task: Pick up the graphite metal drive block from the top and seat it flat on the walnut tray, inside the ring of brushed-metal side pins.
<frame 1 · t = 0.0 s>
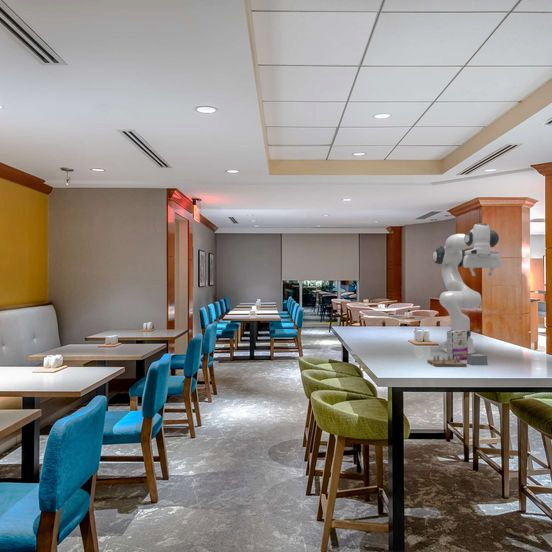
hand: (481, 275, 266), 48 cm above the table, tool pointing down, fingers open, 8 cm apart
pin tray: (446, 364, 253), on the table
candy bar box: (457, 359, 271), on the table
drive block: (477, 364, 254), on the table
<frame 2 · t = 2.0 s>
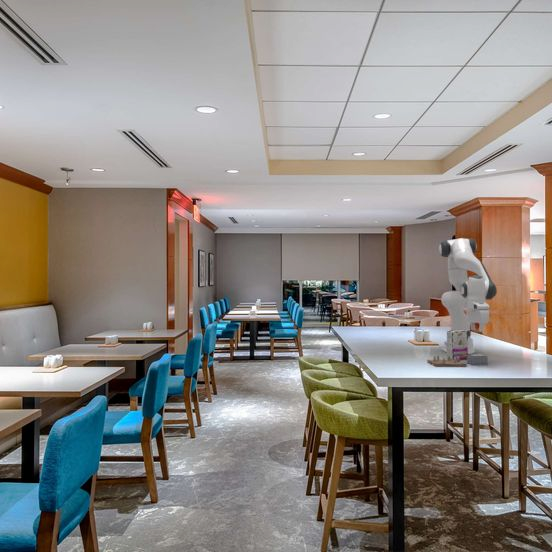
hand: (477, 331, 254), 18 cm above the table, tool pointing down, fingers open, 8 cm apart
nothing on the table moved.
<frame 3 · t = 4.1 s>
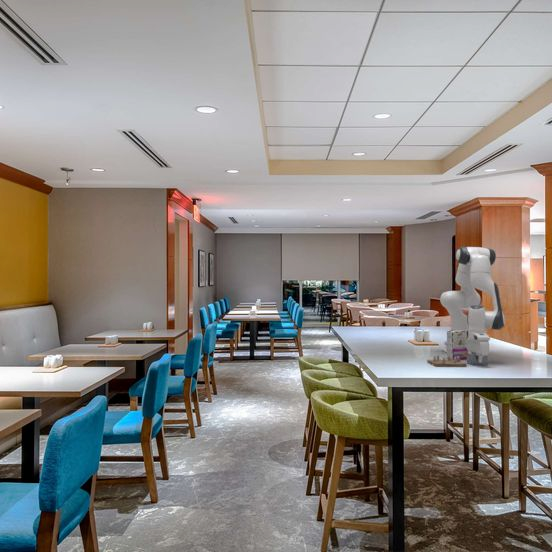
hand: (477, 361, 254), 2 cm above the table, tool pointing down, fingers closed on drive block, 5 cm apart
drive block: (477, 364, 254), on the table, touching gripper
everything else where it was.
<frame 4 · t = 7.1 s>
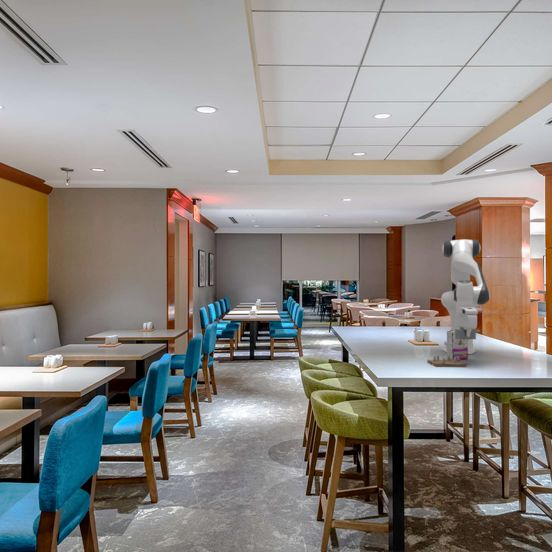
hand: (465, 335, 253), 15 cm above the table, tool pointing down, fingers closed on drive block, 5 cm apart
drive block: (465, 338, 253), point 14 cm above the table, touching gripper
everything else where it was.
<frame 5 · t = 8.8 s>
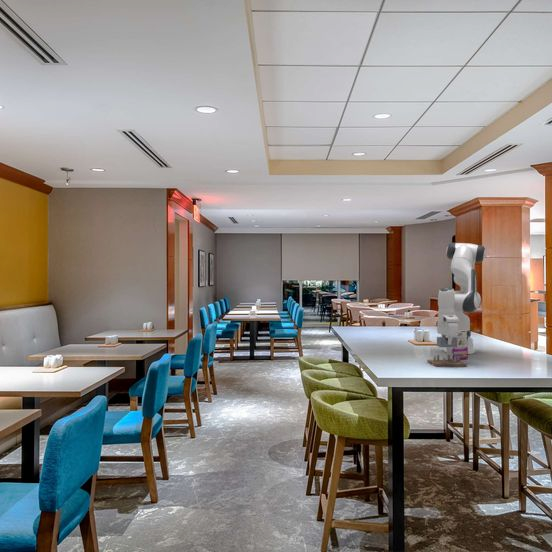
hand: (446, 343, 253), 11 cm above the table, tool pointing down, fingers closed on drive block, 5 cm apart
drive block: (446, 346, 253), point 10 cm above the table, touching gripper
everything else where it was.
when the fingers open (5 cm above the table, at t = 10.3 s): drive block drops 1 cm, resting on pin tray.
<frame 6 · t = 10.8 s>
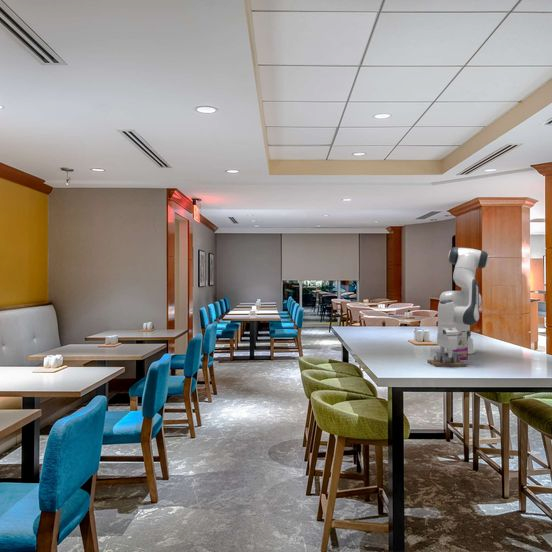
hand: (446, 356, 253), 5 cm above the table, tool pointing down, fingers open, 8 cm apart
drive block: (446, 361, 253), point 1 cm above the table, touching pin tray
everything else where it was.
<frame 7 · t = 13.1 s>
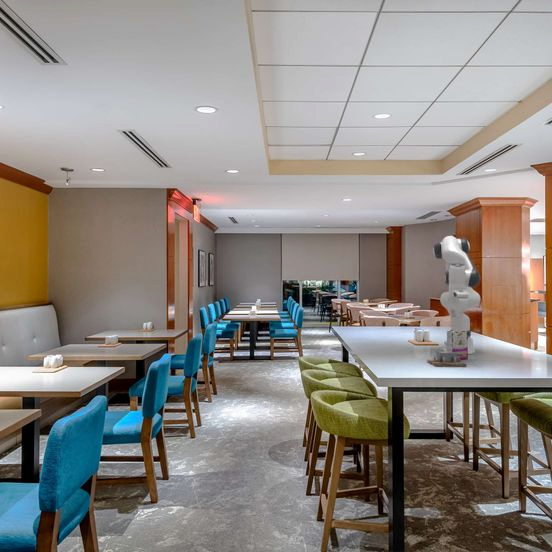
hand: (456, 318, 257), 25 cm above the table, tool pointing down, fingers open, 8 cm apart
nothing on the table moved.
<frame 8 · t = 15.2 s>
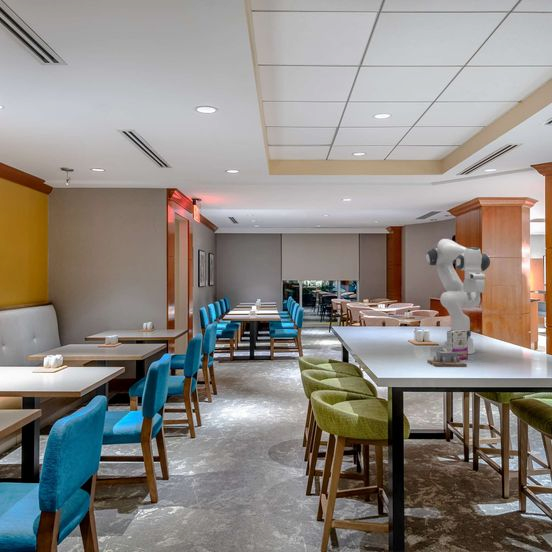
hand: (473, 300, 263), 34 cm above the table, tool pointing down, fingers open, 8 cm apart
nothing on the table moved.
at the end: drive block 0.1 cm off-centre on the pin tray, point 1.5 cm above the pin tray's base; drive block tilted 0°; the gripper is holding nothing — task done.
